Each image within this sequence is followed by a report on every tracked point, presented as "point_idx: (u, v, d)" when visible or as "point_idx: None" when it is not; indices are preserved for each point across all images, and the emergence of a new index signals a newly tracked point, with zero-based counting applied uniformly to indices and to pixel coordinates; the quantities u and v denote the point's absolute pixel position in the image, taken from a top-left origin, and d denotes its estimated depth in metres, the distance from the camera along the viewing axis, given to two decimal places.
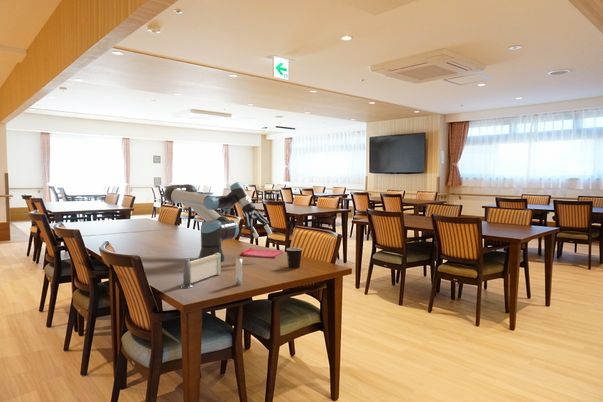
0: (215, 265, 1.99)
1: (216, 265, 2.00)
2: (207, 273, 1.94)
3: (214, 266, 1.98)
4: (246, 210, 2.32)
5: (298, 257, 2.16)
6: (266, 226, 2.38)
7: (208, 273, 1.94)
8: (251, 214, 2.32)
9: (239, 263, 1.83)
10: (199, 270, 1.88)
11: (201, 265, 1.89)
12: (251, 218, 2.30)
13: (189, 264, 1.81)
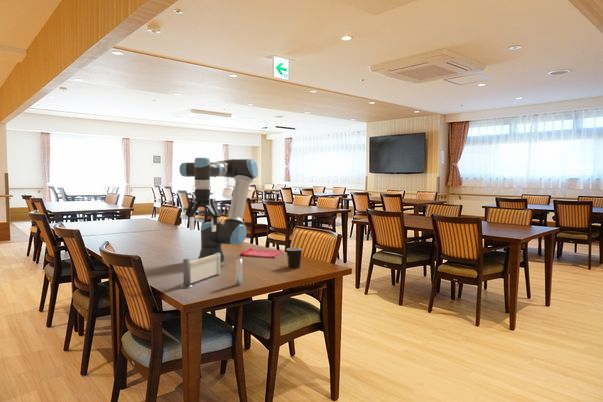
0: (215, 265, 1.99)
1: (216, 265, 2.00)
2: (207, 273, 1.94)
3: (214, 266, 1.98)
4: None
5: (298, 257, 2.16)
6: None
7: (208, 273, 1.94)
8: (196, 202, 1.99)
9: (239, 263, 1.83)
10: (199, 270, 1.88)
11: (201, 265, 1.89)
12: (194, 207, 2.00)
13: (189, 264, 1.81)
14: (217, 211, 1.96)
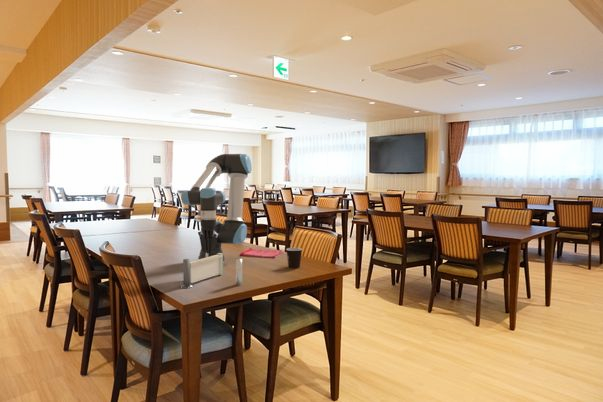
0: (217, 265, 1.99)
1: (218, 265, 1.99)
2: (208, 273, 1.93)
3: (215, 267, 1.98)
4: None
5: (298, 257, 2.16)
6: None
7: (209, 273, 1.94)
8: None
9: (239, 263, 1.83)
10: (200, 270, 1.88)
11: (202, 265, 1.89)
12: (204, 239, 1.98)
13: (189, 264, 1.81)
14: (214, 247, 1.96)
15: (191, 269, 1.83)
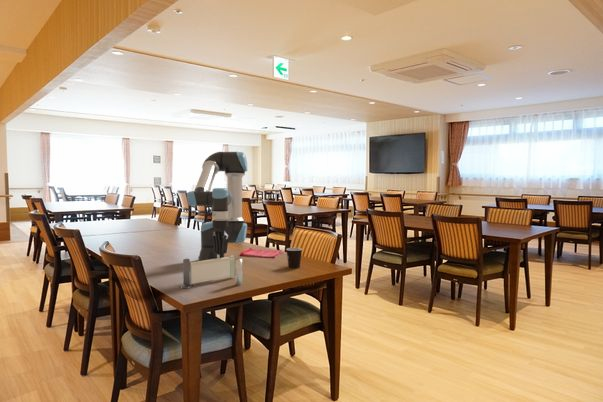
0: (227, 268, 1.93)
1: (228, 268, 1.94)
2: (215, 275, 1.89)
3: (225, 269, 1.92)
4: None
5: (298, 257, 2.16)
6: None
7: (216, 275, 1.90)
8: None
9: (239, 263, 1.83)
10: (203, 271, 1.86)
11: (206, 266, 1.86)
12: (216, 240, 1.95)
13: (188, 264, 1.80)
14: (225, 248, 1.92)
15: (192, 269, 1.82)
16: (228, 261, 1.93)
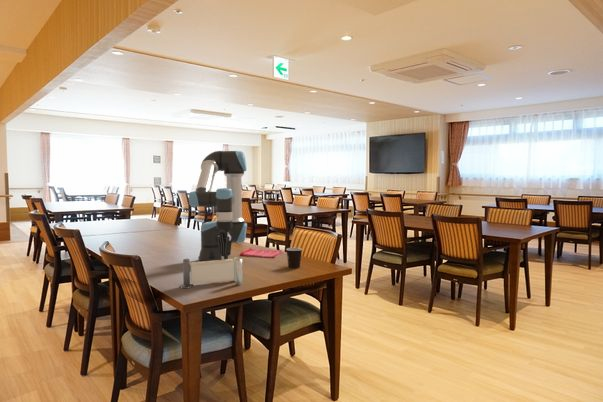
0: (231, 270, 1.89)
1: (232, 270, 1.89)
2: (217, 277, 1.86)
3: (228, 271, 1.88)
4: None
5: (298, 257, 2.16)
6: None
7: (219, 277, 1.87)
8: (220, 235, 1.91)
9: (239, 263, 1.83)
10: (205, 272, 1.84)
11: (208, 268, 1.84)
12: (221, 242, 1.92)
13: (188, 264, 1.80)
14: (228, 250, 1.88)
15: (192, 270, 1.81)
16: (232, 263, 1.89)
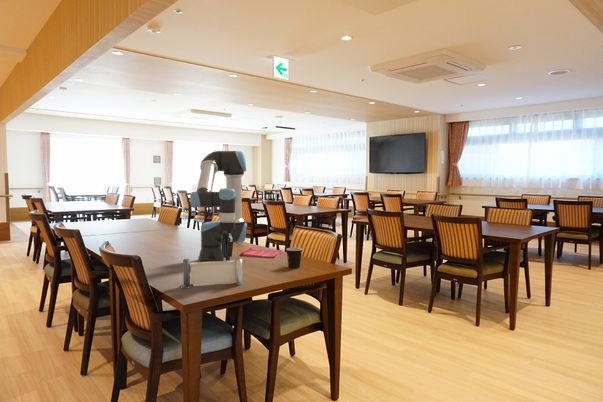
0: (232, 272, 1.85)
1: (233, 272, 1.86)
2: (218, 278, 1.84)
3: (229, 273, 1.85)
4: None
5: (298, 257, 2.16)
6: None
7: (219, 278, 1.84)
8: None
9: (239, 263, 1.83)
10: (205, 273, 1.82)
11: (208, 268, 1.83)
12: (223, 243, 1.89)
13: (187, 265, 1.80)
14: (229, 251, 1.85)
15: (192, 270, 1.81)
16: (233, 265, 1.85)
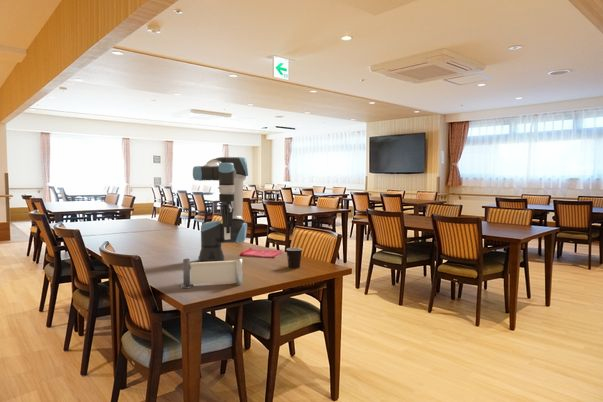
0: (232, 272, 1.85)
1: (233, 272, 1.86)
2: (218, 278, 1.84)
3: (229, 273, 1.85)
4: None
5: (298, 257, 2.16)
6: None
7: (219, 278, 1.84)
8: (222, 207, 2.02)
9: (239, 263, 1.83)
10: (205, 273, 1.82)
11: (208, 268, 1.83)
12: (223, 213, 2.02)
13: (187, 265, 1.80)
14: (229, 221, 1.98)
15: (192, 270, 1.81)
16: (233, 265, 1.85)
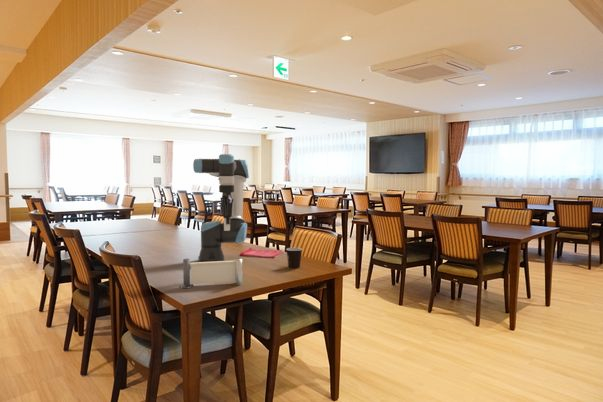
0: (232, 272, 1.85)
1: (233, 272, 1.86)
2: (218, 278, 1.84)
3: (229, 273, 1.85)
4: None
5: (298, 257, 2.16)
6: None
7: (219, 278, 1.84)
8: None
9: (239, 263, 1.83)
10: (205, 273, 1.82)
11: (208, 268, 1.83)
12: (223, 205, 2.04)
13: (187, 265, 1.80)
14: (229, 212, 2.00)
15: (192, 270, 1.81)
16: (233, 265, 1.85)
